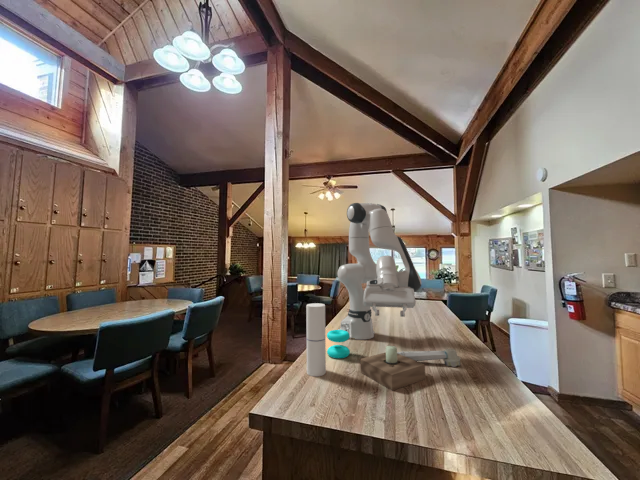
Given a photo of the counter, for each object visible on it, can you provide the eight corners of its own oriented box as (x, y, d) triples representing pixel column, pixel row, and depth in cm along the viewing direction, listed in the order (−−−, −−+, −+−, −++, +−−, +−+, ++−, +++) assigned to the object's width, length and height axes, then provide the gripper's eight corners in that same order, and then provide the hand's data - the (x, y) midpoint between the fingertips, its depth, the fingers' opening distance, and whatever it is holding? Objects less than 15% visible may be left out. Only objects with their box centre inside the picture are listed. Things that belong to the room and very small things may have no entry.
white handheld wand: (393, 350, 116) (455, 344, 112) (395, 366, 116) (458, 361, 112) (394, 354, 111) (460, 349, 107) (397, 371, 110) (463, 366, 106)
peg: (383, 374, 101) (383, 347, 101) (391, 372, 103) (391, 345, 103) (391, 379, 97) (391, 350, 98) (400, 376, 99) (399, 348, 100)
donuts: (340, 327, 128) (354, 332, 120) (340, 349, 128) (354, 356, 119) (322, 331, 123) (335, 336, 114) (322, 354, 122) (336, 361, 114)
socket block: (360, 372, 103) (360, 358, 103) (391, 363, 111) (391, 350, 111) (392, 390, 89) (391, 374, 89) (425, 378, 97) (424, 364, 98)
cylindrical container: (303, 374, 101) (303, 306, 103) (310, 367, 108) (310, 302, 109) (321, 377, 99) (321, 307, 100) (328, 369, 106) (327, 303, 107)
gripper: (412, 291, 116) (417, 320, 106) (363, 290, 119) (363, 318, 109) (414, 282, 112) (419, 311, 102) (363, 281, 115) (363, 309, 105)
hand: (390, 315), depth 105 cm, fingers open, 8 cm apart
